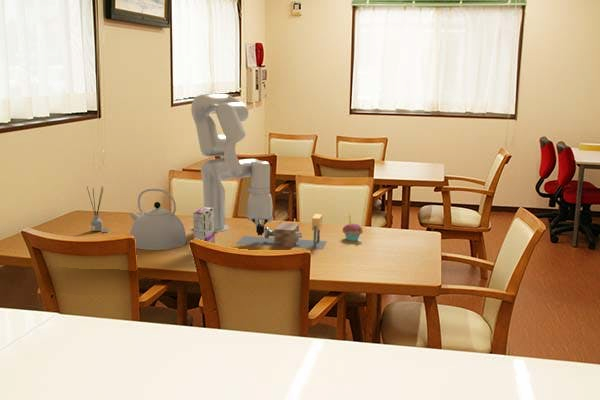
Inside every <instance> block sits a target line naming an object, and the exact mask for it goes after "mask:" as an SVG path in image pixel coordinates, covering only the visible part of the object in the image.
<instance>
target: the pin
mask: <svg viewBox="0 0 600 400" xmlns="http://www.w3.org/2000/svg"><path fill="white" fill-rule="evenodd" d="M264 237H265V238H270V237H274V229H273V230H272V229H270V227H269V226H268V227H264ZM296 238H299V239H302V238H303V231H299V232H296Z"/></svg>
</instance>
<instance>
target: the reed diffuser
mask: <svg viewBox="0 0 600 400" xmlns="http://www.w3.org/2000/svg"><path fill="white" fill-rule="evenodd" d="M86 188H87V193H88V196H89V199H90V202H91V203H90V204H91V207H92V210H93V213H94V214H93V215H94V216H93V218H92V220H91V221H90V227H91V228H90V229H91V231H93V232H95V231H102V232H103V233H108V232H109V228H108V227H103V220H102V219H100V217H99V210H100V206H101V200H102V196H103V193H104V189H103V187H101V189H100V194H99V200H98V206H97V211H96V210H95V208H96V203H95V200H93V202H92V199H91V198H92V197H91V194H90V191H89V188H88V186H86ZM92 193H93V194H92V196H93V198H95V194H94V193H95V191H94V189H92Z"/></svg>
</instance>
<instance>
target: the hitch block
mask: <svg viewBox="0 0 600 400" xmlns="http://www.w3.org/2000/svg"><path fill="white" fill-rule="evenodd" d="M273 230H274V236H273V238H274V246H273V247H277V246H284V247H283V248H292V247H294V246H295V244H296V243H297V241H298V240H299V239H300V238H296V232H300V223H295V222H279V223H278V225H277V226H276V227H275V228H274V229H273ZM320 238H321V229H320V230H319V231H317V226H314V230H313V240H314V241H313V248H316V241H317V242H320V241H321V239H320Z"/></svg>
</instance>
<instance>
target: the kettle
mask: <svg viewBox="0 0 600 400" xmlns="http://www.w3.org/2000/svg"><path fill="white" fill-rule="evenodd" d="M151 191H152V192H162V193H164V194H166V195H168V197H170V199H171V200H172V203H173V210H172V212H171V211H170V210H167V209H162V208H161V203H160V202H159V201H156V202H154V204H153V207H154V208H153V209H149V210H146V211H145V212H143V209H142V207H141V203H140V202H141V197H142V196H143V194H145V193H146V192H151ZM137 207H138V208H139V209H138V210H139V212H140V215H139V214H138V213H136V212H131V213H129V216H130V217H131V219H132V220H133V221H134V222H133V224H132V226H131V228H130V234H129V236H130V235H133V236H134V237H135V239H136V248H135V249H138V250H148V251H161V250H171V249H176V248H179V246H180V247H181V246H184V245H185V244H186V243H187V237H186V229H185V226H184V224H183V223H182V221H181V219H180V218H179V217H178V216H177V215H176V214H175V213H176V212H177V211H176V210H177V205H176V200H175V198H174V197H173V196H172V194H171V193H170V192H169V191H166V190H164V189H160V188H149V189H148V188H147V189H145V190H142V191H141V192H140V193H139V194H138V198H137ZM183 244H184V245H183Z"/></svg>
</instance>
